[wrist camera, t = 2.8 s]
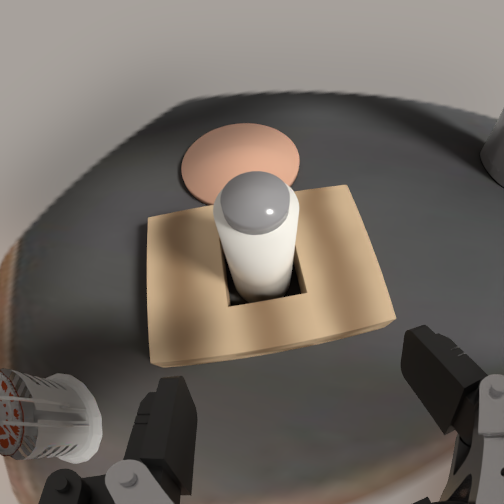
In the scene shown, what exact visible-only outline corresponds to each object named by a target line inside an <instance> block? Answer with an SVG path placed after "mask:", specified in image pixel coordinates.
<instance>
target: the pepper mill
mask: <svg viewBox="0 0 504 504" xmlns="http://www.w3.org/2000/svg"><path fill="white" fill-rule="evenodd" d="M213 215H214V220H215V223H216V227H217V230H218V233H219V236H220V240H221V243H222V246H223V249H224V253H225V256H226V259H227V262H228V265H229V269H230V272H231V275H232V278H233V281H234V284H235V287H236V290H237V292H238V293H239V295H240V296H241V297H242V298H243V299H244V300H246V301H247V302H249V303H255V302H260V301H266V300H272V299H277V298H282V297H283V296H284V295H285V294H286V292H287V291H288V288H289V286H290V280H291V273H292V265H293V258H294V250H295V242H296V233H297V225H298V216H299V202H298V199H297V196H296V194H295V193H294V191H293V190H292V189H291V188H290V187H289V186H288V185H287V184H286V183H284V182H283V181H282V180H281V179H280V178H278V177H277V176H275V175H273V174H271V173H267V172H262V171H251V172H246V173H242V174H240V175H238V176H236V177H234V178H233V179H231V180H230V181H229V182H228V183H227V184H226V185H225V187H224V188H223V189H222V190H221V191H220V193H219V194H218V196H217V197H216V200H215V202H214V207H213Z"/></svg>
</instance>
